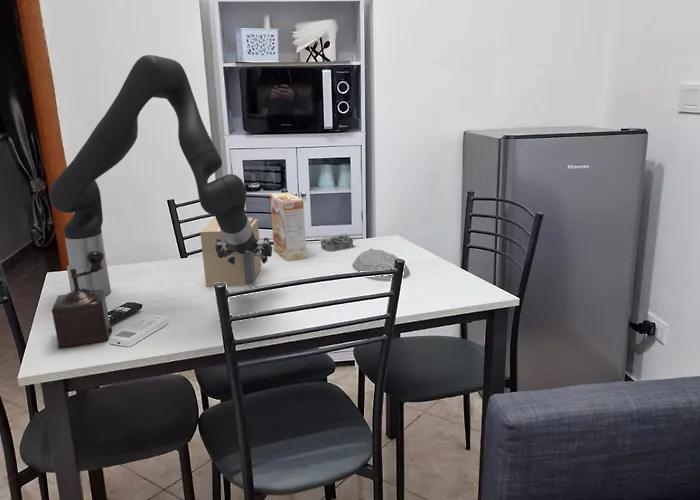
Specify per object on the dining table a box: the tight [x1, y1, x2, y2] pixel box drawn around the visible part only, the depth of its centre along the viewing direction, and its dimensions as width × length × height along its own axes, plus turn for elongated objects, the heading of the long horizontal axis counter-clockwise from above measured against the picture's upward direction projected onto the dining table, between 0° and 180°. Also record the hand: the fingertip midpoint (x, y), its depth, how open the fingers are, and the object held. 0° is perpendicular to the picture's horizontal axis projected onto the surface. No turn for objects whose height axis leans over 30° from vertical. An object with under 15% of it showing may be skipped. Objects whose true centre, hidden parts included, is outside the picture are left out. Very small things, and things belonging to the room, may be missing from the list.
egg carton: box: [319, 233, 356, 252], centre depth 201 cm, size 11×8×4 cm
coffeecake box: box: [269, 191, 307, 262], centre depth 193 cm, size 15×7×20 cm, turn 23°
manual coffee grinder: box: [51, 251, 113, 349], centre depth 136 cm, size 16×11×18 cm
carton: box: [199, 217, 254, 288], centre depth 172 cm, size 16×12×16 cm
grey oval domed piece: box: [352, 248, 411, 282], centre depth 177 cm, size 16×25×7 cm, turn 25°
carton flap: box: [243, 218, 262, 286], centre depth 169 cm, size 21×2×15 cm, turn 179°
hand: (248, 261), depth 161 cm, fingers open, 8 cm apart
